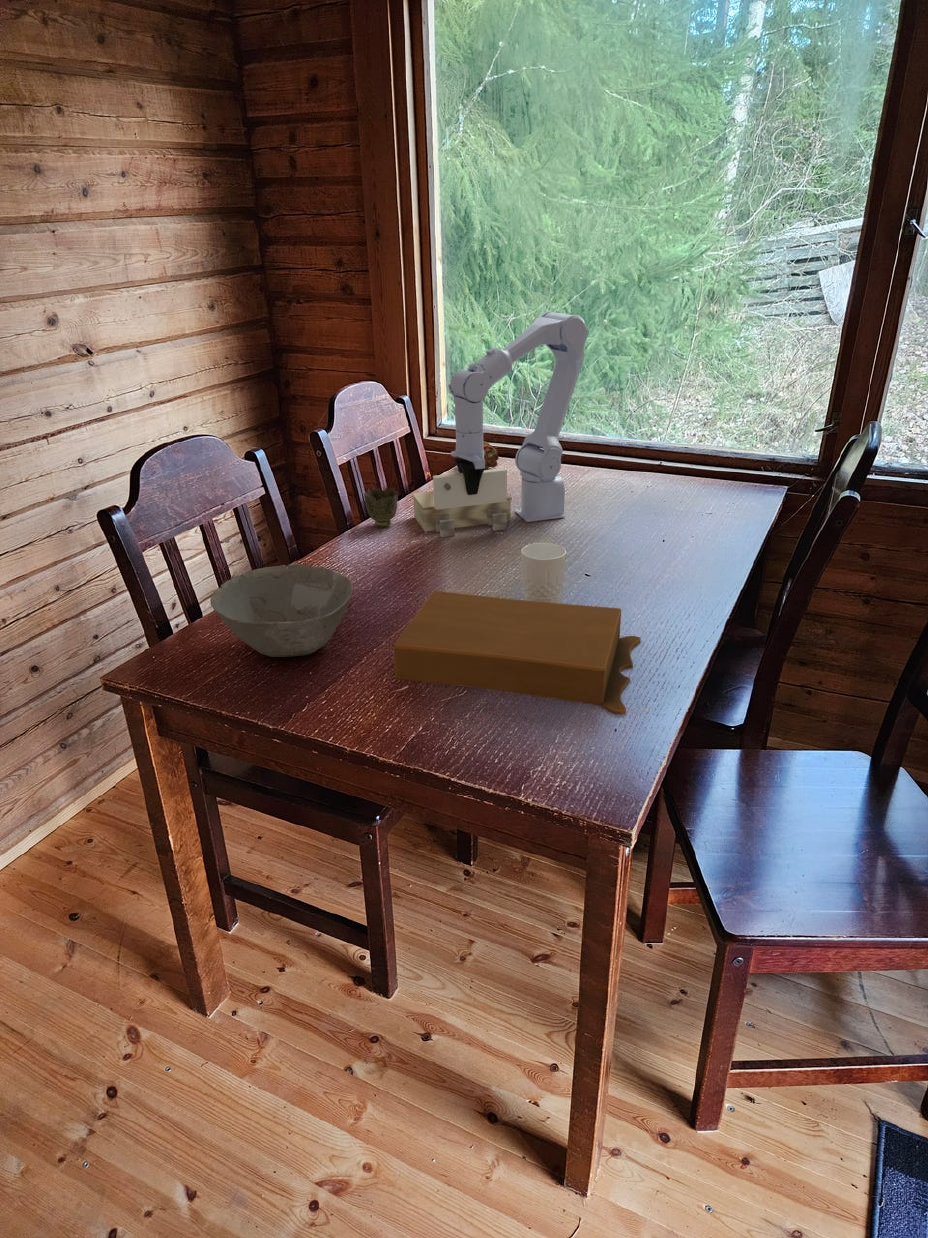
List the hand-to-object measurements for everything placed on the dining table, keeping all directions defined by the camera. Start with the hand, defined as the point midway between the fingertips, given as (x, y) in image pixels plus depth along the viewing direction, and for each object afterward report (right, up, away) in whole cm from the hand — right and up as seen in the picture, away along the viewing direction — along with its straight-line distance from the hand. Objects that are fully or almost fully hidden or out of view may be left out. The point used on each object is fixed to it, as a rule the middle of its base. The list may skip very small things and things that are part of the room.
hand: (470, 492), depth 180 cm
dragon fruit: (+2, +13, +46) cm, 47 cm away
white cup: (+13, -24, -29) cm, 40 cm away
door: (0, -2, +1) cm, 3 cm away
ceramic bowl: (-30, -32, -42) cm, 61 cm away
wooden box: (+8, -34, -48) cm, 59 cm away
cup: (-20, -6, +8) cm, 22 cm away
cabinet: (-1, -5, +9) cm, 11 cm away
